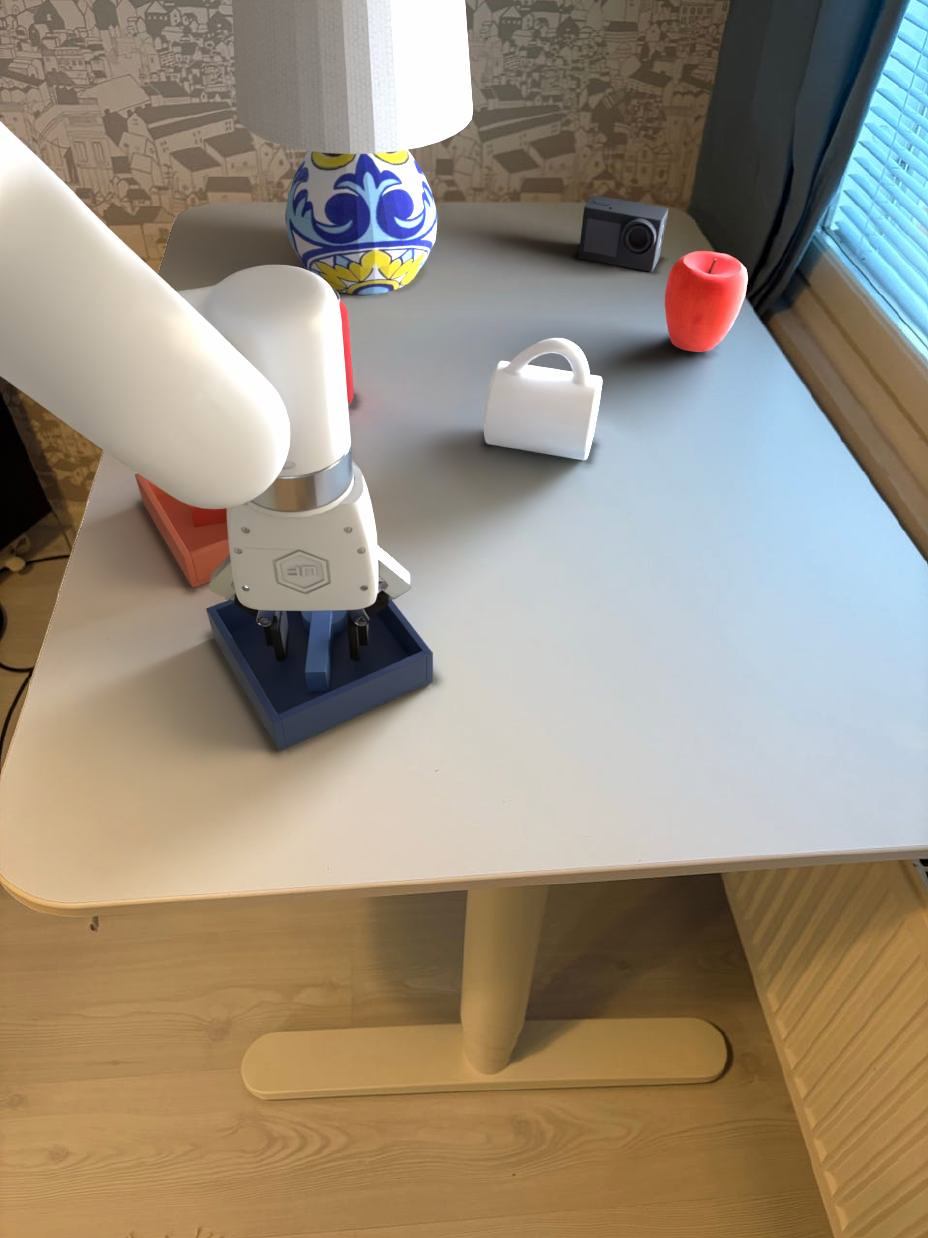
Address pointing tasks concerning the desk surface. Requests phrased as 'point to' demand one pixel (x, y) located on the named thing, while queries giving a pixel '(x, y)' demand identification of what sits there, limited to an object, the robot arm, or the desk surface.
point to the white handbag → (543, 403)
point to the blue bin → (353, 686)
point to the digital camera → (622, 232)
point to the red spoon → (208, 516)
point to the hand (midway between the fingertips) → (319, 646)
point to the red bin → (185, 534)
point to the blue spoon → (321, 645)
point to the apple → (703, 299)
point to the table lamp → (355, 123)
